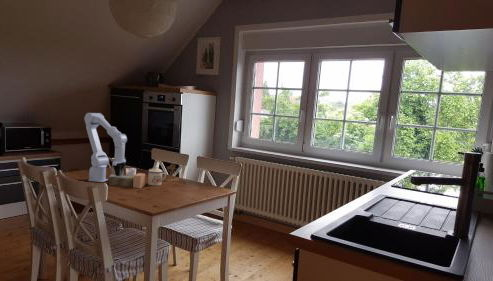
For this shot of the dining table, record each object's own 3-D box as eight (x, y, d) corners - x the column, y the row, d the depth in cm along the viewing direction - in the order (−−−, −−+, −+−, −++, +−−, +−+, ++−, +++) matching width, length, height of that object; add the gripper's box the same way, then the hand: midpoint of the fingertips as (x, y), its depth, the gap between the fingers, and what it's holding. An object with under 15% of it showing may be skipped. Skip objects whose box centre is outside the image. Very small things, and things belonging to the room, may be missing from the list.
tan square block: (132, 187, 214) (133, 175, 213) (137, 184, 222) (138, 173, 221) (140, 188, 213) (140, 176, 213) (144, 185, 221) (145, 173, 221)
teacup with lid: (151, 186, 221) (152, 168, 220) (145, 183, 227) (146, 165, 226) (168, 184, 229) (169, 167, 228) (161, 181, 235) (162, 164, 234)
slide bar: (109, 180, 217) (110, 169, 216) (111, 179, 220) (112, 168, 219) (131, 182, 216) (131, 171, 216) (133, 181, 219) (133, 170, 219)
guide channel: (108, 184, 216) (109, 177, 216) (112, 182, 222) (113, 175, 221) (132, 186, 215) (132, 179, 215) (135, 184, 221) (136, 178, 220)
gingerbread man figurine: (176, 179, 246) (177, 163, 245) (178, 180, 243) (180, 164, 242) (164, 180, 240) (165, 163, 239) (167, 181, 237) (168, 164, 236)
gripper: (120, 155, 209) (119, 177, 210) (130, 152, 224) (129, 173, 225) (109, 154, 210) (108, 176, 211) (120, 151, 224) (119, 172, 225)
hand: (118, 175), depth 218 cm, fingers closed on slide bar, 3 cm apart
